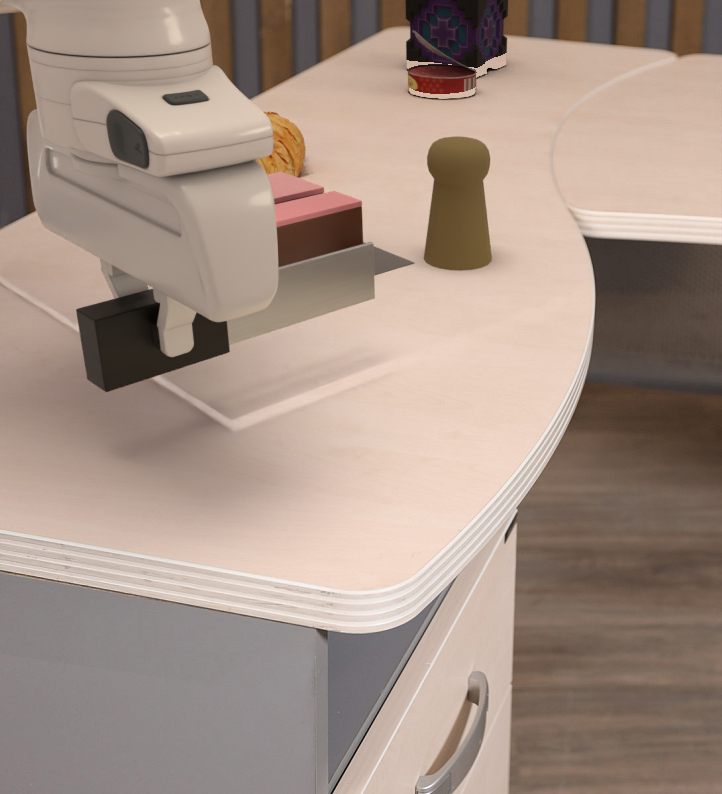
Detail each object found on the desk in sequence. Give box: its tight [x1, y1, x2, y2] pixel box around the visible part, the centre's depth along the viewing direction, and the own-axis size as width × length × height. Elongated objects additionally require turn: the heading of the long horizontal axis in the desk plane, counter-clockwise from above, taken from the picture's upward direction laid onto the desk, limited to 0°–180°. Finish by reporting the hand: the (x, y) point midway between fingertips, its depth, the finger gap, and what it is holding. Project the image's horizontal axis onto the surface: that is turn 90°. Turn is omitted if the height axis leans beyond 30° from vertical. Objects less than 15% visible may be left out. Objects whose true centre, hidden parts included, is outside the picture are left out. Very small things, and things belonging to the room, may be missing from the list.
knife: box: [75, 241, 376, 393], centre depth 66 cm, size 20×2×4 cm, turn 137°
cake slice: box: [275, 190, 364, 267], centre depth 90 cm, size 4×10×4 cm, turn 137°
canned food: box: [407, 30, 477, 94], centre depth 154 cm, size 11×10×10 cm
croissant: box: [256, 110, 306, 178], centre depth 113 cm, size 21×10×8 cm, turn 173°
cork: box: [423, 136, 493, 272], centre depth 91 cm, size 6×6×11 cm
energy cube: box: [405, 0, 509, 68], centre depth 169 cm, size 12×12×12 cm
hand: (157, 340), depth 63 cm, fingers closed on knife, 2 cm apart
